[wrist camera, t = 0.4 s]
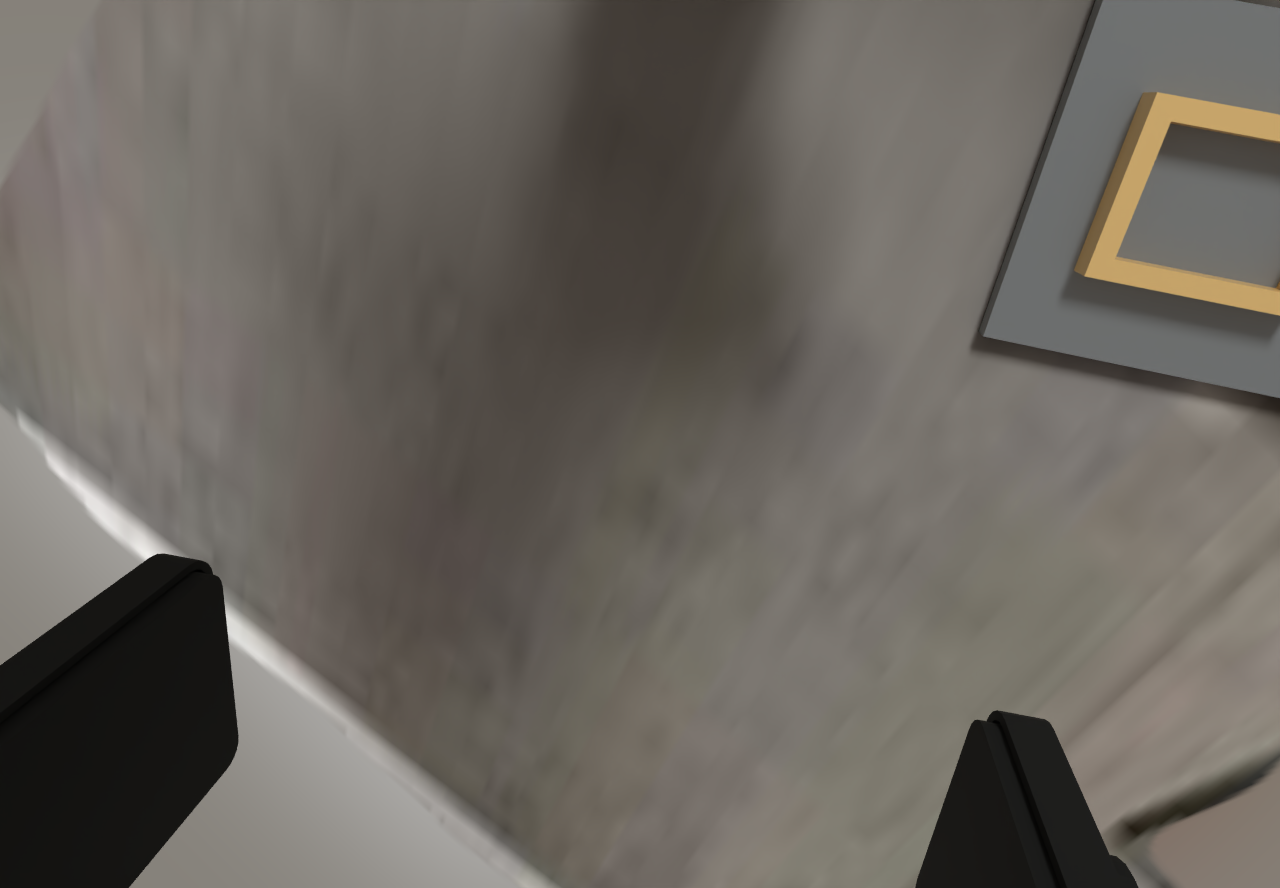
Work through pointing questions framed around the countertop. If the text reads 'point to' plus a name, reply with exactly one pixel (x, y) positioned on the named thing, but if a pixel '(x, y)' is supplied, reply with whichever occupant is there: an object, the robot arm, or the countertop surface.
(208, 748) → the robot arm
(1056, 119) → the socket panel
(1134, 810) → the countertop surface
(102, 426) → the countertop surface
